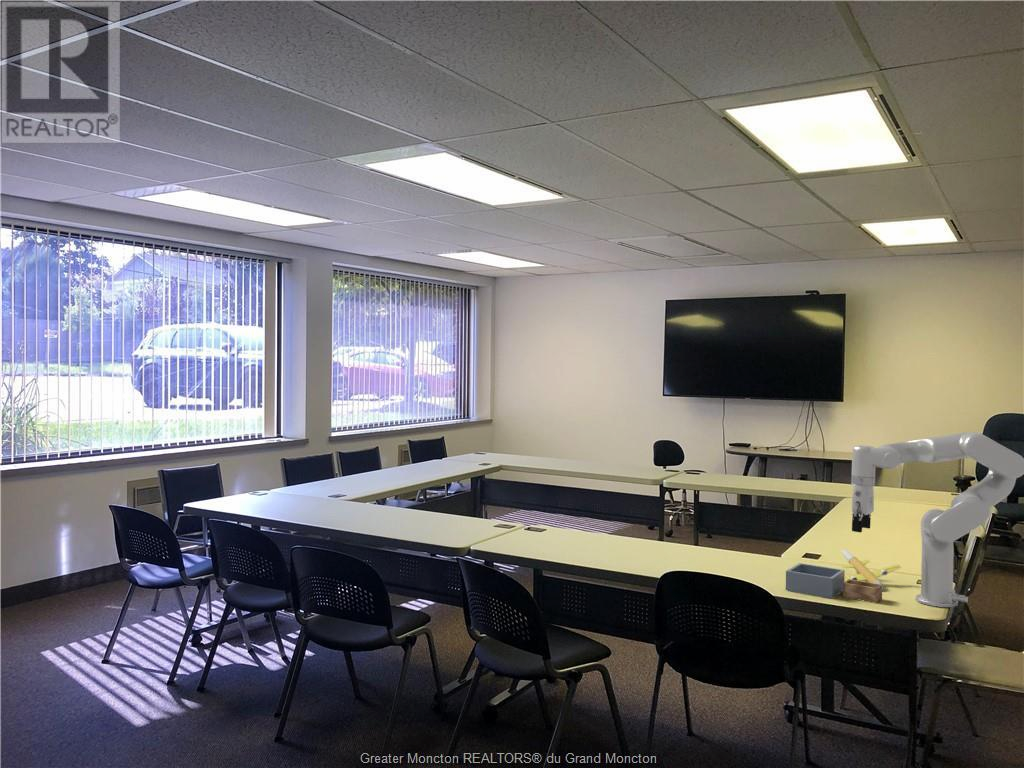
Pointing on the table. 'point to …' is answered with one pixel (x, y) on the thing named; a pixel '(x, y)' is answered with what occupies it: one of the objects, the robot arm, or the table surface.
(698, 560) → the table surface
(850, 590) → the walnut crate
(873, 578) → the toy jet
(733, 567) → the table surface
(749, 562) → the table surface
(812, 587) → the blue-grey open box
